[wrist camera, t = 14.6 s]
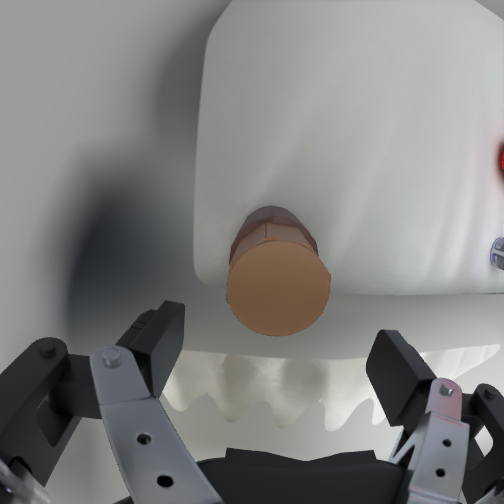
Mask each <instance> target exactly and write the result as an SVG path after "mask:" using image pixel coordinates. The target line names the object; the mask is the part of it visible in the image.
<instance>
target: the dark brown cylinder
mask: <svg viewBox="0 0 504 504" xmlns="http://www.w3.org/2000/svg"><path fill="white" fill-rule="evenodd" d="M264 223H273V224H280V225H286V226H292V227H297V228H299V230H300V231H301V233H302V234H303V235H304V237H305V238H306V240H307V241H308V242H309V244H310V245H311V247H312V248H313V250H314V251H315V253H316V254H317V255H318V250H317V245H316V242H315V240H314V239H313V238H312V236H311V235H310V233H309V232H308V230H307V229H306V228H305V227H304V226H303V224H302V223H301V222H300V221H299V220H298V219H297V218H296V217H295V216H294V215H293V214H292V213H290V212H289V211H287V210H286V209H284V208H281V207H276V206H268V207H263V208H260V209H258V210H256V211H255V212H253V213H252V214H251V215H249V216H248V218H247V219H246V221H245V223H244V224H243V226H242V228H241V229H240V231H239V233H238V235H237V237H236V239H235V241H234V242H233V244H232V247H231V253H230V261H229V264H230V263H231V261H232V258H233V256H234V254H235V251H236V249H237V247H238V245H239V242H240V241H241V240H242V239H243V238H245V237H246V236H247V235H249V234H250V233H252V232H253V231H254V230H256V229H257V228H258V227H260V226H261V225H263V224H264ZM318 257H319V255H318Z"/></svg>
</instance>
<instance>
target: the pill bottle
mask: <svg viewBox="0 0 504 504" xmlns="http://www.w3.org/2000/svg"><path fill="white" fill-rule="evenodd" d="M491 261H492V263H493V265H494V266H496V267H498V268H500V269H502V270H504V238H502V237H501V238H498V239H497V240H496V241H495V243H494V244H493V247H492V251H491Z"/></svg>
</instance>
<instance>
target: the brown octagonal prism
mask: <svg viewBox="0 0 504 504" xmlns="http://www.w3.org/2000/svg"><path fill="white" fill-rule="evenodd" d="M330 282H331V275H330V273H329V272H328V270H327V269H326V267H325V266H324V264H323V263H322V261H321V260H320V258H319V257H318V255H317V254H316V253H315V251H314V250H313V248H312V247H311V245H310V244H309V242H308V241H307V240H306V238H305V237H304V235H303V234H302V233H301V231H300V230H299V228H297V227H292V226H286V225H280V224H273V223H264V224H263V225H261V226H260V227H258V228H257V229H256V230H254V231H253V232H252V233H250V234H249V235H247V236H246V237H245V238H243V239H242V240H241V241H240V242H239V245H238V247H237V249H236V251H235V254H234V256H233V258H232V261H231V263H230V270H229V277H228V282H227V294H226V300H227V303H228V304H229V305H230V307H231V309H232V311H233V313H234V314H235V316H236V317H237V318H238V319H239V321H241V323H242V324H244V325H245V326H246V327H248V328H249V329H251V330H253V331H255V332H257V333H260V334H263V335H268V336H287V335H291V334H295V333H297V332H300V331H302V330H304V329H305V328H307V327H309V326H310V325H311V324H312V323H313V322H315V321H316V320H317V319H318V317H319V316H320V315H321V313H323V310H324V308H325V306H326V304H327V301H328V297H329V293H330Z"/></svg>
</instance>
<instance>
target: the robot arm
mask: <svg viewBox="0 0 504 504" xmlns="http://www.w3.org/2000/svg"><path fill="white" fill-rule="evenodd" d="M184 316H185V305H184V304H183V303H178V302H172V301H168V300H165V301H164V302H163V304H162V305H161V306H160V307H159V309H158V310H152V309H151V310H149V311H146V312H145V313H142V314H141V315H140V316H139V317H138V318H137V319H136V321H135V322H134V323H133V324H132V325H131V328H129V329H128V330H127V331H126V332H125V333H124V335H123V336H122V337H121V338H120V339H119V340H118V342H117V343H116V344H115V345H104V346H101V347H98V348H97V349H95V350H94V351H93V352H92V353H91V355H90V356H82V355H74V354H68V350H67V346H66V344H65V343H64V342H63V341H62V340H60V339H57V338H52V337H49V338H48V337H47V338H42V339H39V340H36V341H35V342H33V343H32V344H31V345H30V346H29V347H28V348H27V349H26V350H25V351H24V352H23V353H22V354H21V355H19V356H18V357H17V358H16V359H15V360H14V362H12V363H11V364H10V365H9V366H8V367H7V368H6V369H5V370H4V371H3V372H2V373H1V374H0V504H51V500H50V497H49V495H48V493H47V491H46V490H45V489H44V487H45V485H46V483H47V481H48V479H49V477H50V475H51V473H52V471H53V469H54V467H55V465H56V464H57V462H58V460H59V458H60V456H61V454H62V452H63V451H64V449H65V447H66V445H67V443H68V441H69V440H70V438H71V436H72V434H73V432H74V431H75V429H76V427H77V425H78V424H79V422H80V420H81V419H82V417H86V418H94V419H102V420H103V423H104V426H105V429H106V433H107V436H108V439H109V442H110V445H111V448H112V451H113V454H114V456H115V459H116V462H117V465H118V467H119V470H120V472H121V475H122V477H123V479H124V482H125V484H126V487H127V489H128V491H129V493H130V495H131V496H129V497H126V498H124V499H122V500H120V501H118V502H116V503H114V504H462V503H460V502H459V497H460V492H461V489H462V491H463V493H464V496H465V499H466V502H467V504H504V397H503V396H502V395H501V394H500V392H499V391H498V390H497V389H496V388H495V387H493V386H491V385H489V384H484V383H483V384H479V385H478V386H477V388H476V389H475V391H474V393H473V394H465V393H462V390H461V388H460V387H459V386H458V385H457V384H456V383H455V382H453V381H452V380H449V379H446V378H437V377H436V376H435V374H434V373H433V372H432V370H431V369H430V368H429V366H428V365H427V364H426V362H424V360H423V359H422V357H421V356H420V355H419V353H418V352H417V351H416V350H415V349H414V347H412V346H411V345H410V344H408V343H407V342H406V341H405V340H404V338H403V337H402V336H401V334H400V333H399V332H398V331H397V330H380V331H379V332H378V334H377V337H376V339H375V341H374V344H373V346H372V349H371V352H370V354H369V356H368V359H367V362H366V373H367V375H368V377H369V380H370V382H371V384H372V386H373V388H374V390H375V393H376V395H377V397H378V399H379V401H380V404H381V406H382V408H383V410H384V413H385V415H386V417H387V419H388V422H389V424H390V426H391V427H393V426H401V425H403V427H404V428H403V429H402V431H401V432H400V434H399V436H398V438H397V441H396V443H395V446H394V448H393V450H392V453H391V455H390V457H389V459H388V461H383V460H377V459H376V456H375V453H374V450H368V451H358V452H345V453H339V454H335V455H332V456H328V457H324V458H319V459H316V460H311V461H301V460H297V459H292V458H288V457H284V456H280V455H276V454H272V453H268V452H261V451H251V450H242V449H234V448H227V450H226V456H225V457H223V458H212V459H206V460H201V461H197V462H195V461H194V459H193V458H192V456H191V454H190V453H189V451H188V450H187V448H186V447H185V445H184V443H183V442H182V440H181V438H180V436H179V435H178V433H177V432H176V430H175V428H174V426H173V424H172V423H171V421H170V419H169V417H168V415H167V414H166V412H165V410H164V408H163V406H162V404H161V402H160V400H159V397H160V395H161V393H162V391H163V389H164V387H165V384H166V382H167V380H168V378H169V376H170V374H171V371H172V369H173V367H174V365H175V363H176V361H177V359H178V356H179V354H180V352H181V349H182V345H183V339H184ZM45 398H46V399H45ZM44 399H45V400H44ZM43 400H44V401H43ZM42 402H43V403H42ZM41 403H42V404H41ZM40 404H41V405H40ZM39 406H40V407H39ZM38 407H39V408H38ZM484 425H485V427H486V428H487V430H488V432H489V433H490V435H491V437H492V439H493V446H492V449H491V450H490V452H489V453H488V454H487V455H486V456H485V457H484V455H483V453H482V451H481V450H480V448H479V446H478V444H477V442H476V440H475V436H476V435H477V434H478V433H479V431H480V430H481V429H482V428H483V426H484Z"/></svg>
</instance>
